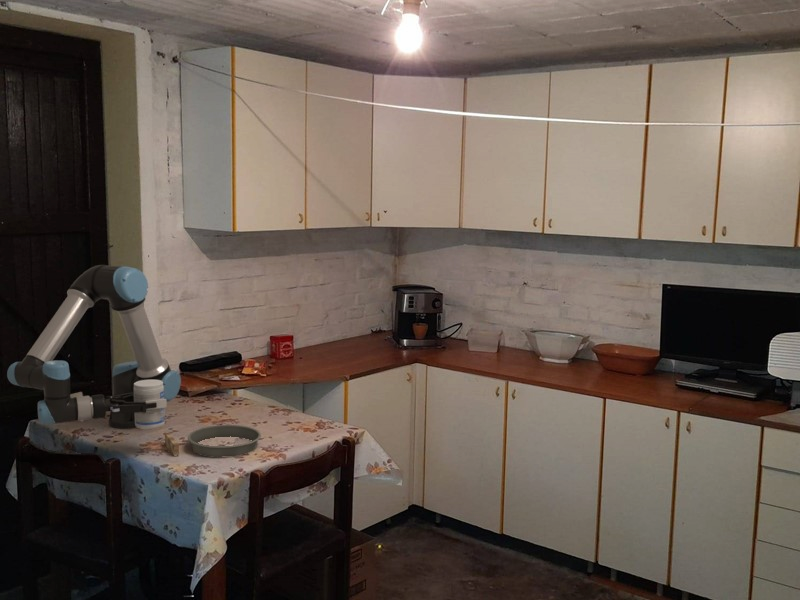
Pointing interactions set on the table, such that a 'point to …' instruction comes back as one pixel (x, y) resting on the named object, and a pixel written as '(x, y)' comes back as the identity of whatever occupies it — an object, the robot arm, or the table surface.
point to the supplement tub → (148, 392)
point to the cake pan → (224, 432)
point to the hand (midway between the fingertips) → (162, 399)
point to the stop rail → (172, 444)
